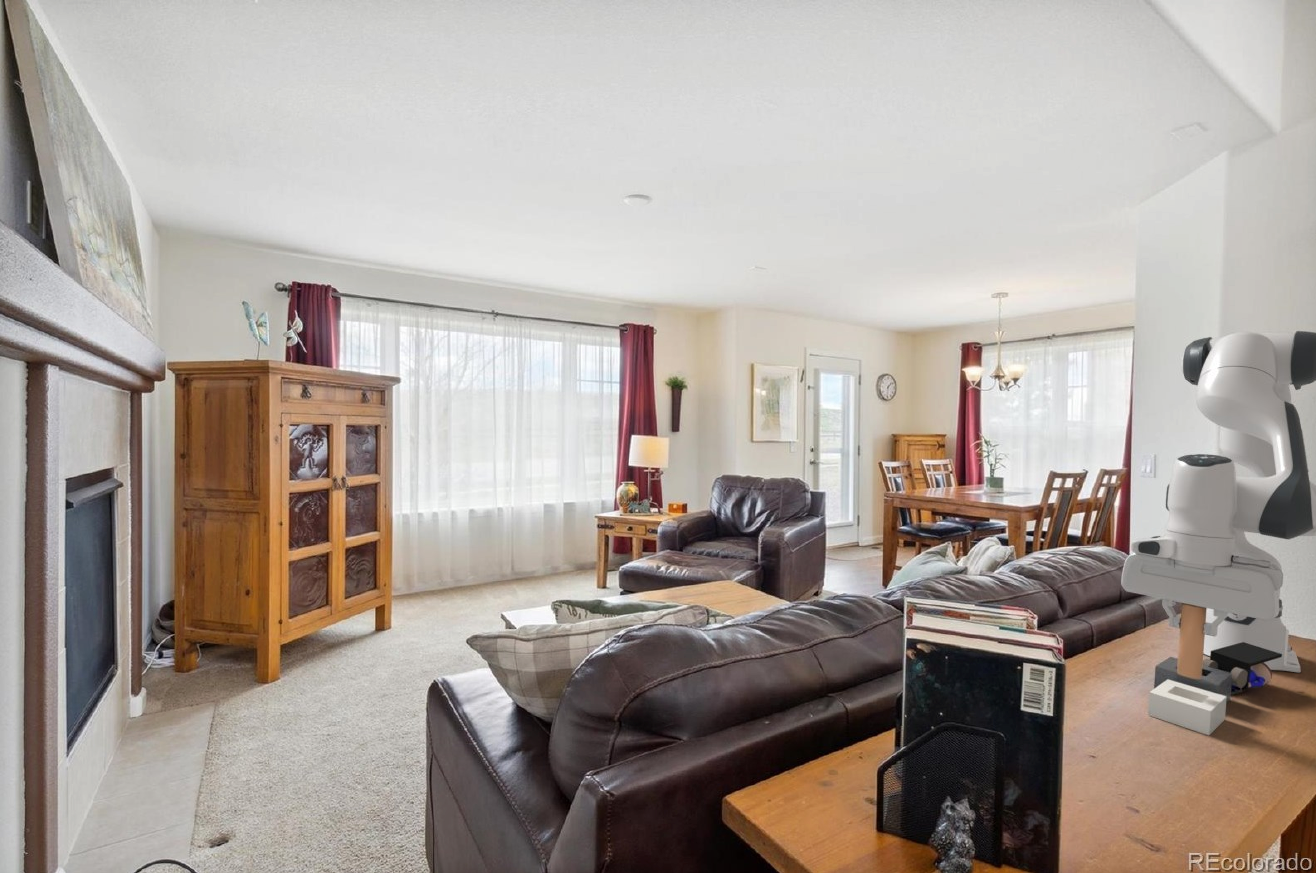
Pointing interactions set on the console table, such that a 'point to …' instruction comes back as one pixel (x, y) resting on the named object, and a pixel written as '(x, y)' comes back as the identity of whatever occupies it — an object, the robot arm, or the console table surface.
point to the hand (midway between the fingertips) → (1192, 630)
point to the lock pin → (1191, 641)
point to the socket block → (1187, 706)
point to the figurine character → (1243, 664)
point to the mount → (1210, 679)
